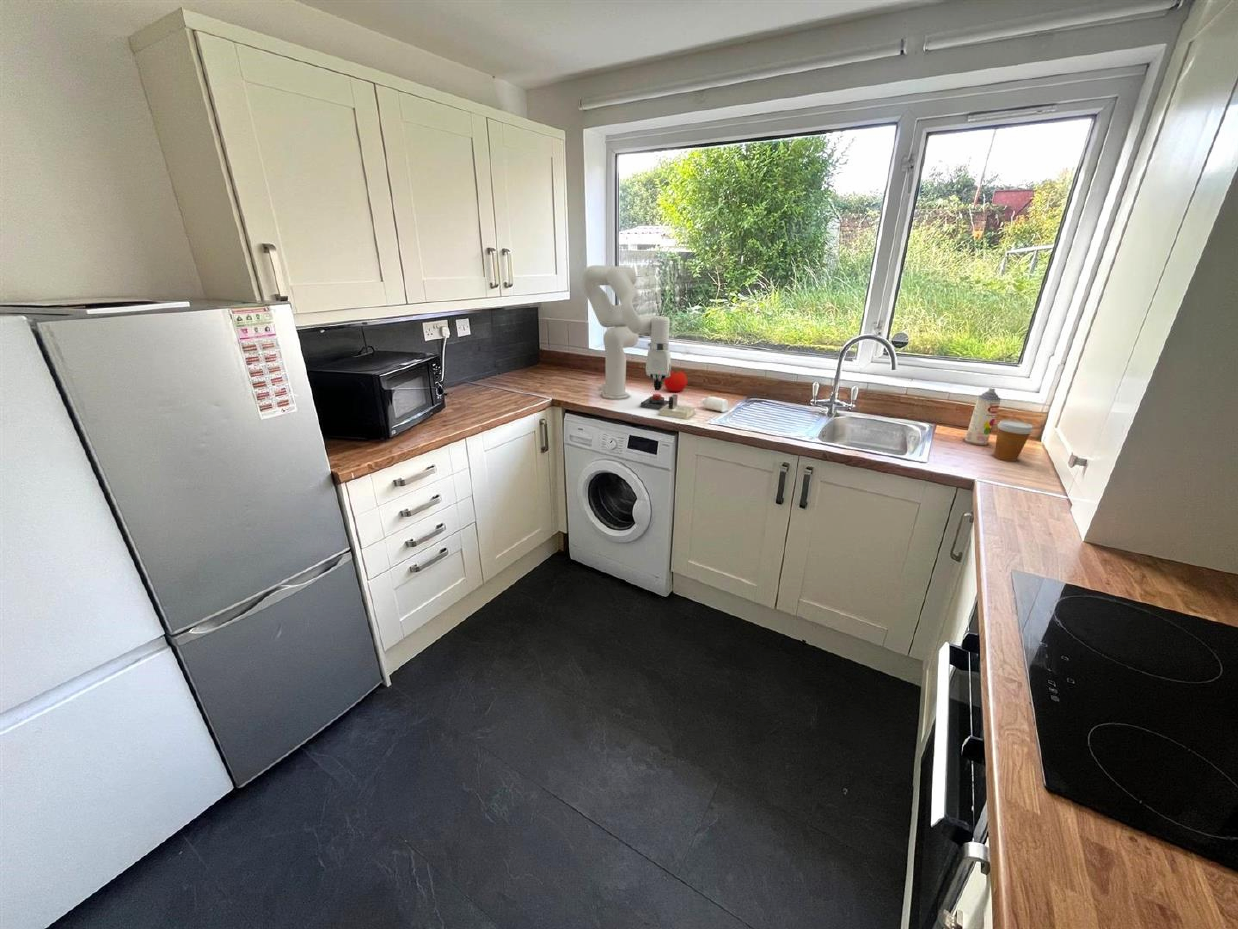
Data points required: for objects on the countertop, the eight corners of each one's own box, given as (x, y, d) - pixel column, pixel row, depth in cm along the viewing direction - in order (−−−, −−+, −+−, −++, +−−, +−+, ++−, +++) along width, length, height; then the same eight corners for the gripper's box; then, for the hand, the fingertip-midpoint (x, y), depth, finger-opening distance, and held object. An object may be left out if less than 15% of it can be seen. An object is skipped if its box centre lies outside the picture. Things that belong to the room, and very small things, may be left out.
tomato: (670, 387, 256) (671, 367, 252) (690, 390, 250) (692, 370, 246) (658, 391, 247) (659, 370, 243) (678, 394, 241) (680, 373, 237)
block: (640, 407, 218) (641, 398, 216) (648, 402, 225) (648, 394, 224) (664, 410, 214) (664, 401, 212) (671, 405, 221) (672, 397, 220)
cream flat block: (657, 414, 207) (657, 408, 206) (665, 409, 216) (666, 403, 215) (686, 419, 202) (687, 412, 201) (694, 413, 211) (694, 407, 210)
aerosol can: (979, 446, 178) (996, 391, 171) (960, 440, 184) (976, 387, 177) (991, 444, 181) (1008, 390, 174) (972, 438, 187) (987, 385, 179)
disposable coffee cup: (1024, 465, 161) (1036, 429, 157) (988, 459, 166) (999, 424, 162) (1020, 456, 169) (1032, 422, 165) (987, 451, 174) (997, 418, 169)
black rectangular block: (672, 409, 206) (673, 396, 204) (668, 408, 207) (669, 396, 205) (677, 406, 211) (677, 394, 209) (673, 405, 211) (673, 393, 209)
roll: (703, 405, 223) (704, 393, 221) (727, 410, 216) (729, 397, 214) (696, 408, 219) (697, 395, 217) (721, 413, 212) (722, 400, 210)
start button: (651, 399, 217) (651, 395, 217) (654, 397, 220) (654, 393, 220) (659, 400, 216) (659, 396, 215) (661, 398, 219) (662, 394, 218)
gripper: (639, 346, 210) (638, 389, 216) (673, 349, 204) (670, 393, 210) (646, 344, 216) (645, 386, 223) (679, 347, 210) (676, 389, 217)
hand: (657, 389), depth 216 cm, fingers closed
